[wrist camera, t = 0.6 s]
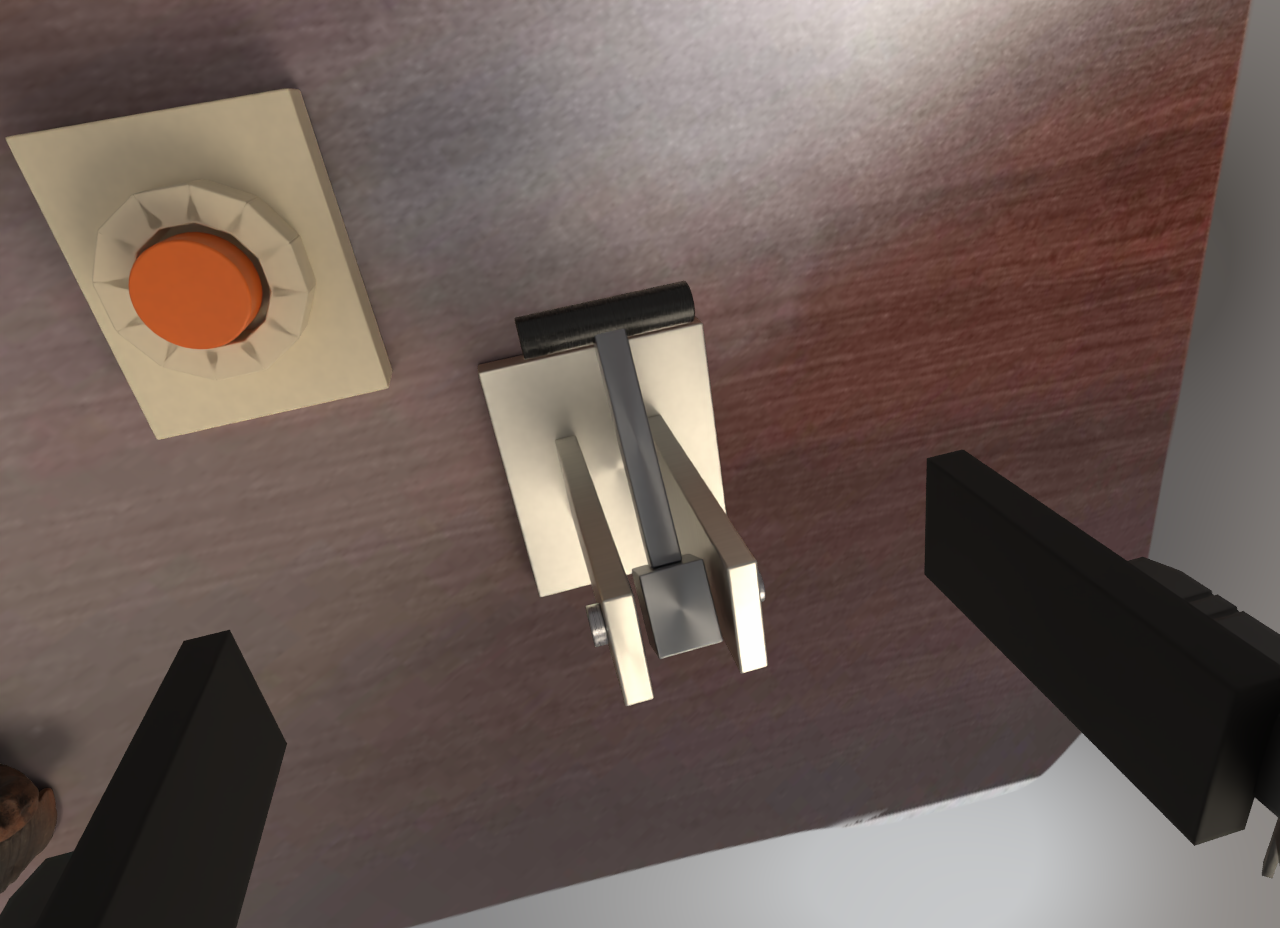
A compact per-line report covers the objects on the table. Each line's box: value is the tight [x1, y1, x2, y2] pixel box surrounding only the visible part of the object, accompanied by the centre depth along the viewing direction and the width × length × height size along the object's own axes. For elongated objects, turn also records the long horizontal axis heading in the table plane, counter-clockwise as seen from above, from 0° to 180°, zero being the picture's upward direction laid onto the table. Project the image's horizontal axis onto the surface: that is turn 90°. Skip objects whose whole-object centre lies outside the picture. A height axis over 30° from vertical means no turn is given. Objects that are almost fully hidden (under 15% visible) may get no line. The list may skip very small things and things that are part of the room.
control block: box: [5, 88, 392, 440], centre depth 28 cm, size 11×9×4 cm
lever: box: [515, 281, 723, 659], centre depth 26 cm, size 12×6×2 cm, turn 10°
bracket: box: [478, 317, 768, 706], centre depth 30 cm, size 12×10×14 cm
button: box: [128, 232, 262, 349], centre depth 25 cm, size 4×4×2 cm
